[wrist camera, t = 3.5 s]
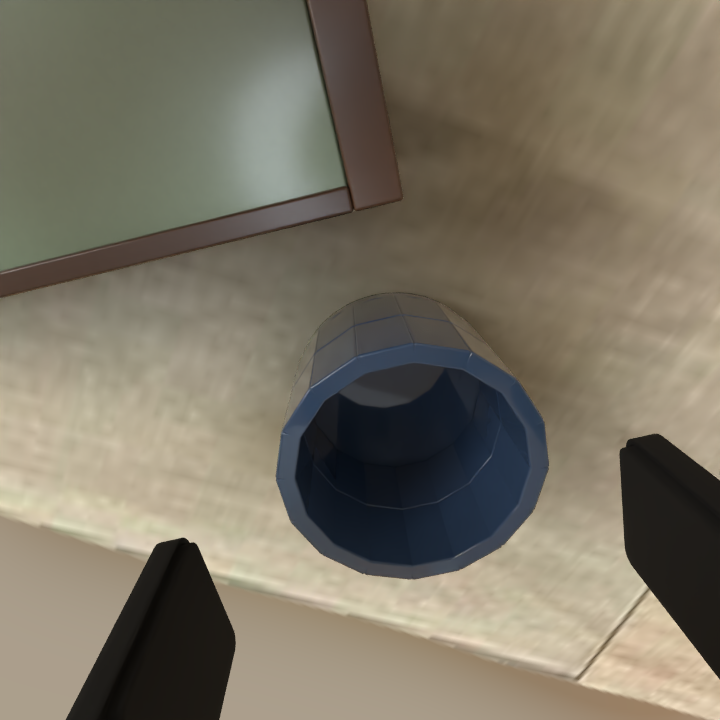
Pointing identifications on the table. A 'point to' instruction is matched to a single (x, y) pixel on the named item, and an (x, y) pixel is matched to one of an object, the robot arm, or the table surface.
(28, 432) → the table surface
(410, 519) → the cup
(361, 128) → the brown wooden drawer box
